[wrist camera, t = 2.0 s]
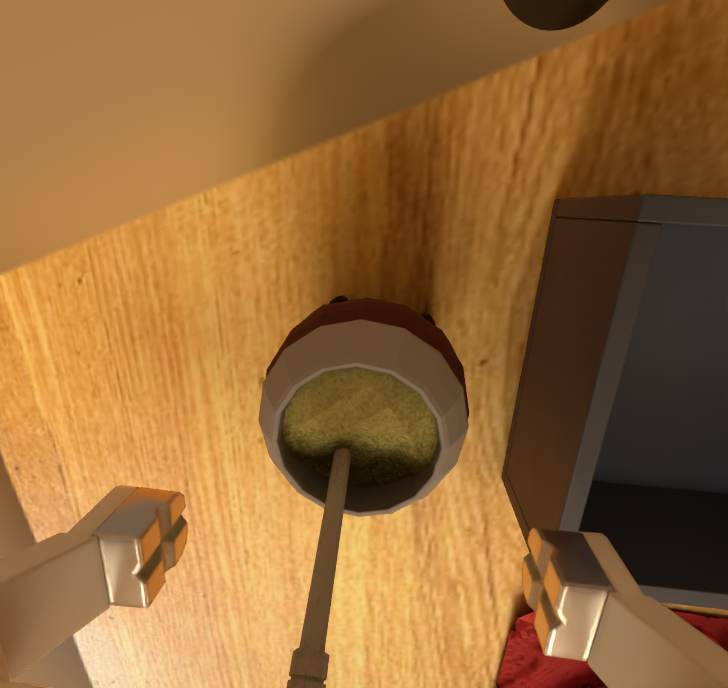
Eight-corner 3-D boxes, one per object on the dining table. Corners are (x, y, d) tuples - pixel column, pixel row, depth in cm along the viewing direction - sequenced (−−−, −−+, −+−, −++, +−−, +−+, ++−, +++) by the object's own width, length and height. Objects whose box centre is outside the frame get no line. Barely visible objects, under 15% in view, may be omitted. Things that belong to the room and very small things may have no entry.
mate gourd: (397, 246, 18) (387, 398, 4) (486, 389, 20) (716, 868, 5) (263, 335, 20) (-92, 668, 5) (356, 458, 21) (270, 958, 7)
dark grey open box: (554, 198, 17) (644, 193, 11) (881, 217, 16) (1181, 223, 10) (501, 478, 21) (543, 589, 15) (757, 503, 20) (913, 631, 14)
